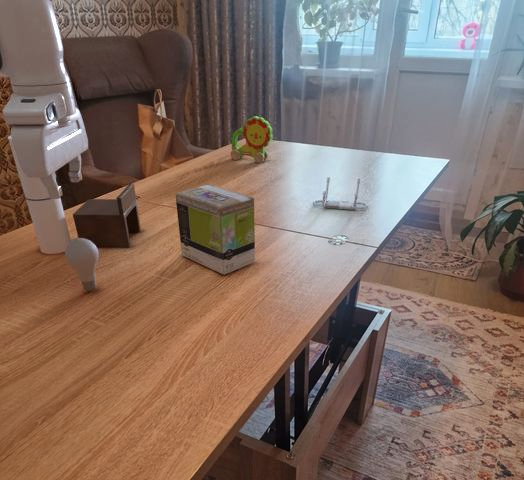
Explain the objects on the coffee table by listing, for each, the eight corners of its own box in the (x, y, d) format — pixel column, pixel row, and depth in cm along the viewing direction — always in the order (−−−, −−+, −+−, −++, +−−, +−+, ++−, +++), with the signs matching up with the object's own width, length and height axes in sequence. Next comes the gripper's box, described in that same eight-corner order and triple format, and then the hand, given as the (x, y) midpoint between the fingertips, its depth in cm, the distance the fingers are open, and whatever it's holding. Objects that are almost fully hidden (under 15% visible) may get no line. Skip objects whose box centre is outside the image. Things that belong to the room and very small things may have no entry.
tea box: (256, 262, 108) (256, 196, 100) (223, 276, 102) (219, 208, 94) (213, 243, 117) (209, 181, 108) (180, 256, 111) (173, 191, 103)
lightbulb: (111, 285, 100) (101, 234, 93) (96, 299, 95) (84, 247, 88) (85, 282, 101) (72, 232, 94) (69, 296, 96) (55, 244, 89)
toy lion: (230, 160, 181) (228, 115, 172) (236, 156, 185) (235, 113, 176) (268, 164, 176) (268, 119, 167) (274, 160, 180) (274, 116, 171)
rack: (80, 246, 116) (68, 197, 109) (95, 229, 125) (85, 182, 118) (129, 247, 115) (120, 197, 108) (141, 230, 124) (133, 183, 117)
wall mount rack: (311, 210, 136) (312, 189, 133) (316, 195, 147) (317, 175, 143) (366, 213, 133) (369, 192, 130) (368, 198, 144) (370, 178, 141)
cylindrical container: (38, 255, 112) (4, 140, 97) (43, 243, 117) (11, 133, 103) (70, 252, 113) (41, 138, 98) (73, 240, 119) (46, 131, 104)
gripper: (52, 93, 86) (71, 172, 94) (-4, 114, 70) (24, 208, 78) (87, 93, 86) (103, 172, 94) (38, 114, 69) (62, 208, 77)
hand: (67, 189), depth 86 cm, fingers open, 8 cm apart
